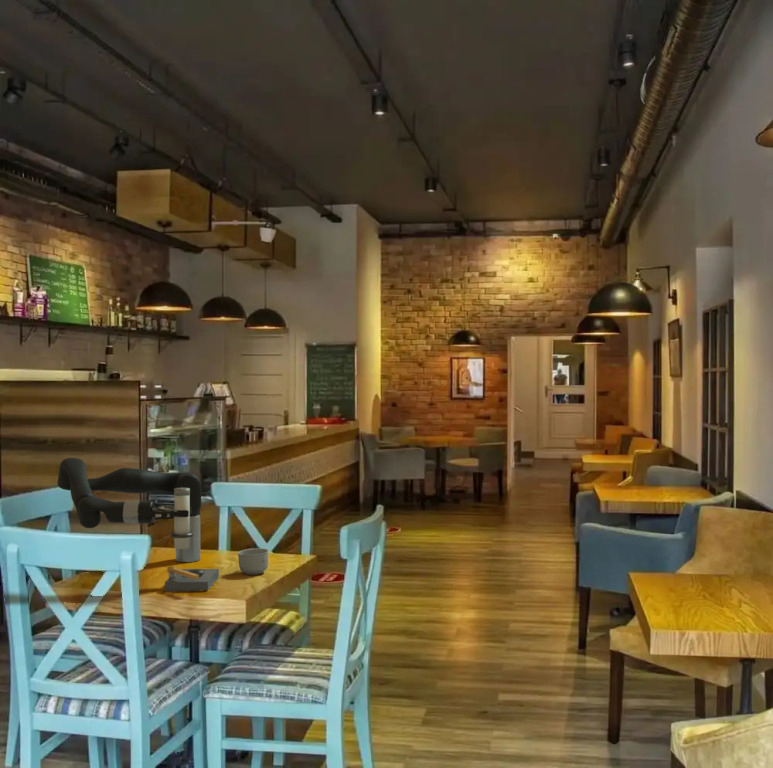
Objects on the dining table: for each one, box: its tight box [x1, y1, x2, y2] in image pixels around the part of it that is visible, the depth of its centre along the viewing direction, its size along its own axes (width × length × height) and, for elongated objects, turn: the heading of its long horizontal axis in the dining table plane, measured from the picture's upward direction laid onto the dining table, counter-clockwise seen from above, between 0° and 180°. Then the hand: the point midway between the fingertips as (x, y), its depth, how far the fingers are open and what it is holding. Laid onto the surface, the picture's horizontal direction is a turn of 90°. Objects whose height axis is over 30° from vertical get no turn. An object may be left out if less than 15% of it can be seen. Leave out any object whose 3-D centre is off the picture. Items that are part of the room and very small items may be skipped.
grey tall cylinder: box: [169, 488, 193, 550], centre depth 293 cm, size 8×8×20 cm
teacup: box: [237, 547, 269, 576], centre depth 310 cm, size 14×11×8 cm
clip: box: [166, 566, 199, 580], centre depth 283 cm, size 3×18×1 cm, turn 42°
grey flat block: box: [164, 568, 220, 592], centre depth 292 cm, size 20×14×5 cm
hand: (189, 512), depth 293 cm, fingers closed on grey tall cylinder, 5 cm apart
